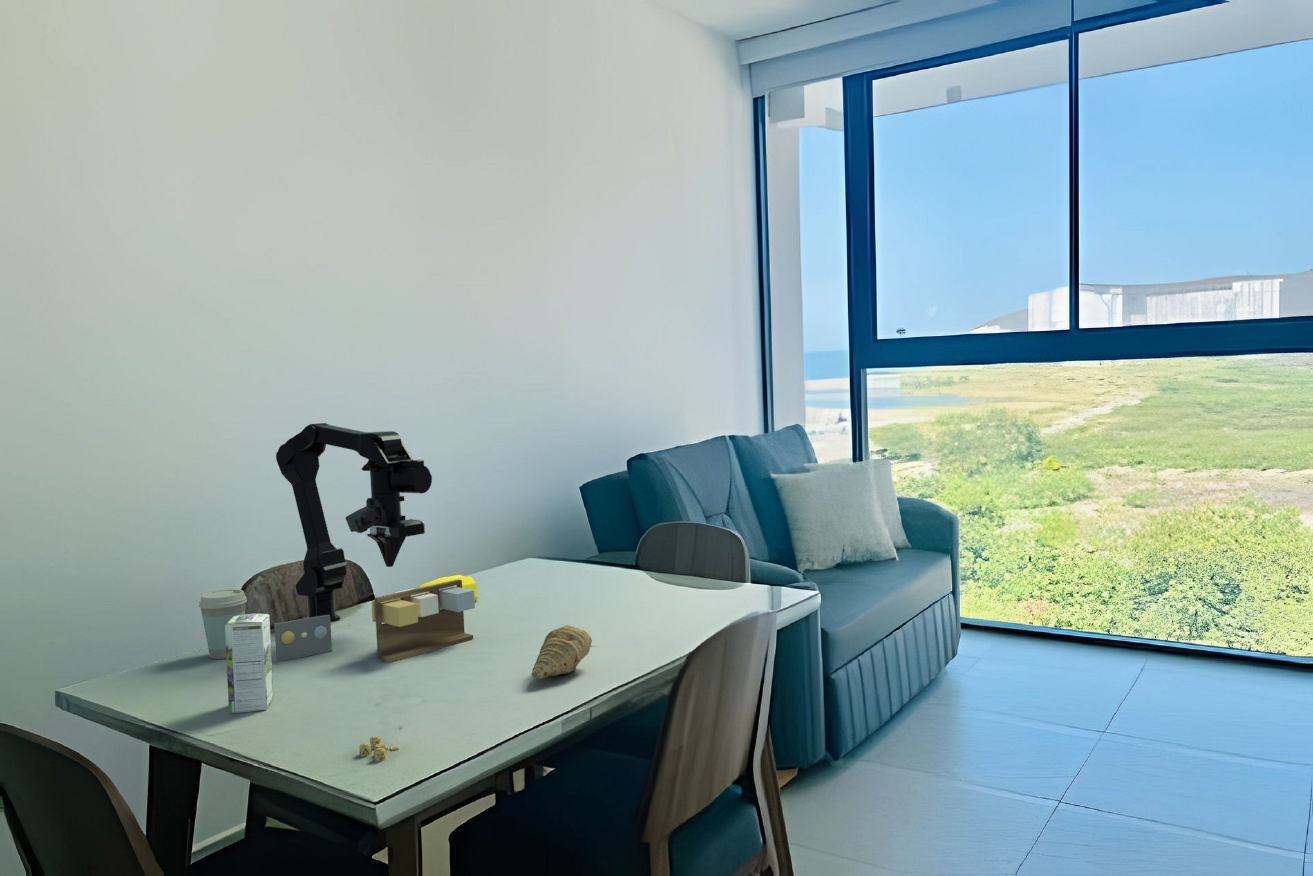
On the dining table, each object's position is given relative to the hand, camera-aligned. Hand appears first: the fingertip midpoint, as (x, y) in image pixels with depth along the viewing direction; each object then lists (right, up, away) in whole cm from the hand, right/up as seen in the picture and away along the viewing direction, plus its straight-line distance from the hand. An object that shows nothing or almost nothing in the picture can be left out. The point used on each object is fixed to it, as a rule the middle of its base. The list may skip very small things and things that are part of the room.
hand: (389, 566), depth 202 cm
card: (-11, -15, -18) cm, 25 cm away
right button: (+16, -7, -11) cm, 21 cm away
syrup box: (-9, -17, -46) cm, 50 cm away
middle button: (+9, -7, -14) cm, 19 cm away
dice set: (+17, -18, -67) cm, 72 cm away
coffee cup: (-27, -15, -15) cm, 35 cm away
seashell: (+39, -14, -36) cm, 55 cm away
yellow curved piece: (+8, -12, +19) cm, 24 cm away
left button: (+7, -8, -21) cm, 23 cm away
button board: (+12, -14, -16) cm, 24 cm away
